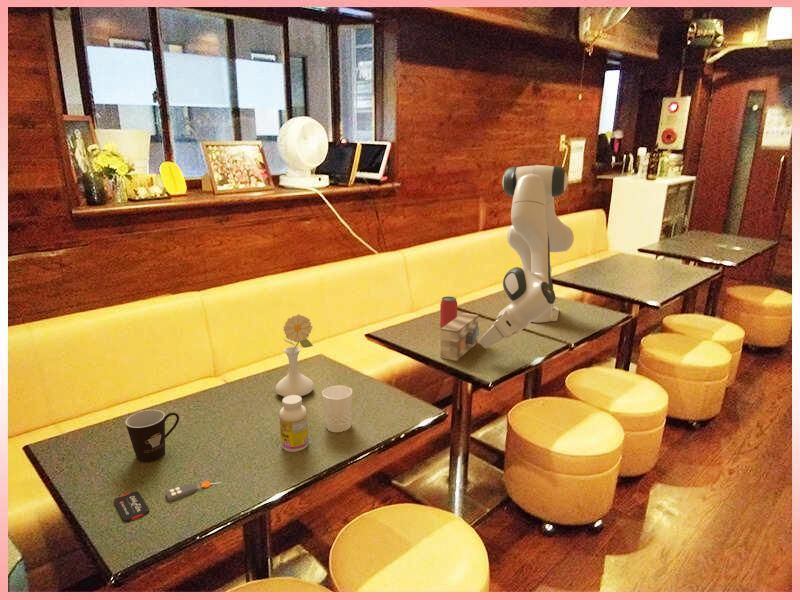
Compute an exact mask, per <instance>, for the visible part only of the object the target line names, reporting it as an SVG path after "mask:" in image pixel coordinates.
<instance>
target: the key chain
mask: <svg viewBox="0 0 800 600" xmlns="http://www.w3.org/2000/svg"><path fill="white" fill-rule="evenodd" d="M220 484H222V482H221V481H218V482H211V481H208V480H205V481H202V483H201V486H200V485H197V484H193V483H191V484H190V483H189V484H186V485H183V486H178V487H175V488H172V489H169V490H168V491H165V496H166V500H167V501H168V502H175V501H176V500H179V499H182V498H185V497H187V496H190V495H192V494H195V493H196V492H197V491H198V490H199V489H201V488H204V489H207V488H209V487H210V486H214V485H220Z"/></svg>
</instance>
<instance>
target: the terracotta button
mask: <svg viewBox="0 0 800 600" xmlns="http://www.w3.org/2000/svg"><path fill="white" fill-rule="evenodd" d="M464 347H465V339H460V340H459V341H458V350H462V349H463V348H464Z"/></svg>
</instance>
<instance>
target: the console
mask: <svg viewBox="0 0 800 600" xmlns="http://www.w3.org/2000/svg"><path fill="white" fill-rule="evenodd" d="M475 327H479V314H475V313H474V314H473V313H467V312H462V313H461V314H459V315H457V317H456V318H455V319H454V320H452V321H451V322H449V323H448V324H447V325H445V326H444V327H442V328H441V327H440V358H441V359H445V360H450V361H456V362H458V361H459V359H460V358H461V357H463V356H464V355H465V354H466V353H468V352H469V350H471V349H472V348H473V347H474V346H475V345H477V344H478V342H479V338H478V337H479V336H477V337H476V342H475V343H474V344H473V345H471V344H466V335H467V334H468V333H473V329H474V328H475ZM460 339H465V347H464V348H463V349H462V350H458V341H459V340H460Z"/></svg>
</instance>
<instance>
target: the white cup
mask: <svg viewBox="0 0 800 600" xmlns="http://www.w3.org/2000/svg"><path fill="white" fill-rule="evenodd" d="M321 397H322V408H323V415H324V416H323V417H324V419H325V420H324V422H325V428H326V430H327V429H328V430H327V431H329V432H331V433H343V431H344V432H346V431H348V430H349V429H350V428H351V427H352V417H353V389H352V388H351V387H350V386H346V385H341V384H340V385H331V386H328V387H326V388H324V389H322V392H321Z"/></svg>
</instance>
